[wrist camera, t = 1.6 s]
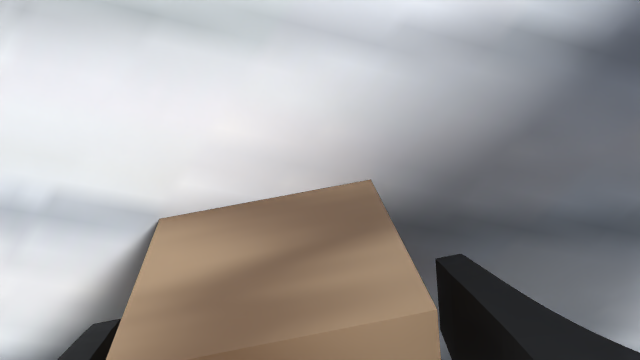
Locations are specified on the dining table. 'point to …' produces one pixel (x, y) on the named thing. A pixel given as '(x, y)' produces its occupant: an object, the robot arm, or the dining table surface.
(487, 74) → the dining table surface
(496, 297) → the robot arm
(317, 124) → the dining table surface
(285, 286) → the tan cube
